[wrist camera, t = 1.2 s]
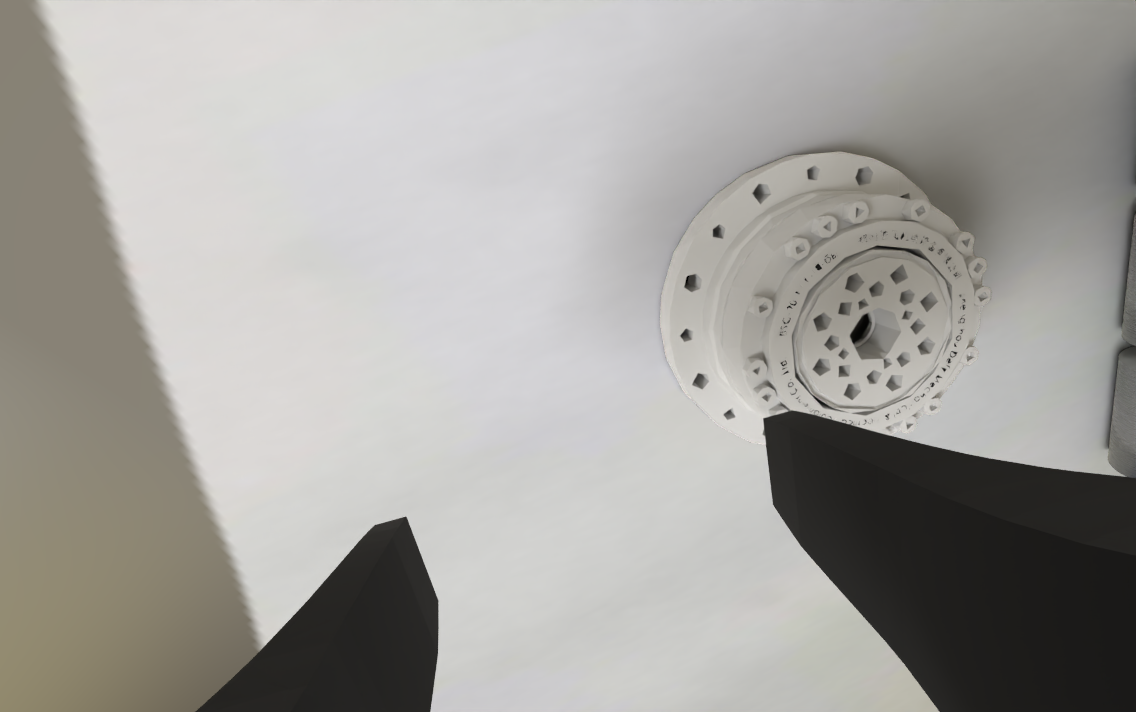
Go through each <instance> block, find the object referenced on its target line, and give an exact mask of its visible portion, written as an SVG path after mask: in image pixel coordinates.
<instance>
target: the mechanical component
mask: <svg viewBox="0 0 1136 712" xmlns="http://www.w3.org/2000/svg"><path fill="white" fill-rule="evenodd" d="M753 191H754V194H755V195H753V194H752V193H753ZM974 240H975V237H974V236H973V235H972V234H971V233H970V232H961V230H960V229H959V228H958V227H957V225H956V224H955V223H954V221H953V220H952V219H951V218H950V217H949V216H947V215H946V214H944V213H943V212H942V211H940V210H939V209H937V208H936V207H934V206H933V205H931V203H930V201H929V199H928V197H927V195H926V194H925V193H924V192H923V191H922V190H921V189H920V188H919V187H917V186H916V185H915V184H914V183H913V182H912V181H911V180H909V179H908V178H907V177H906V176H905V175H904V174H902V173H901V172H900V171H899V170H897V169H895V168H893V167H891V166H889V165H887V164H885V163H882V162H880V161H878V160H876V159H874V158H870V157H866V156H861V155H856V154H851V153H847V152H842V151H839V152H827V153H816V154H804V155H792V156H786V157H784V158H782V159H779V160H777V161H774V162H772V163H769V164H767V165H765V166H762V167H760V168H757V169H755V170H752V171H750V172H747V173H745V174H743V175H742V176H741V177H739V178H738V179H736V180H735V181H734V182H732V183H731V184H730V185H728V186H727V187H725V188H724V189H723V190H721V191H720V192H719V193H717V194H716V195H715V196H714V197H713V198H712V199H711V200H710V201H709V203H708V204H707V205H706V206H705V207H704V208H703V209H702V210H701V211H700V212H699V213H698V214H697V215H696V217H695V218H694V219H693V221H692V222H691V224H690V226H689V227H688V229H687V231H686V232H685V234H684V236H683V237H682V239H681V241H680V242H679V244H678V246H677V247H676V249H675V251H674V253H673V256H672V259H671V263H670V266H669V269H668V273H667V276H666V279H665V283H664V287H663V290H662V294H661V309H660V327H661V333H662V339H663V344H664V350H665V356H666V359H667V361H668V363H669V365H670V367H671V369H672V371H673V373H674V375H675V377H676V379H677V380H678V382H679V384H680V386H681V388H682V390H683V392H684V393H685V394H686V395H687V396H688V397H689V398H690V399H691V400H692V401H693V402H694V403H695V404H696V405H697V406H698V407H699V408H700V409H701V410H702V411H703V412H704V413H705V414H706V415H707V416H708V417H709V418H710V419H711V420H712V421H713V422H714V423H715V424H716V425H717V426H719V427H721V428H723V429H725V430H727V431H729V432H731V433H733V434H735V435H737V436H738V437H740V438H742V439H744V440H746V441H748V442H750V443H756V444H763V445H766V439H765V431H764V422H763V418H766V417H770V416H773V415H777V414H780V413H784V412H788V411H791V410H793V411H799V412H804V413H808V414H813V415H817V416H820V417H824V418H828V419H832V420H835V421H839V422H842V423H846V424H850V425H853V426H857V427H860V428H864V429H867V430H871V431H875V432H878V433H882V434H886V435H889V436H891V435H892V434H895V433H896V432H898V431H899V430H900V431H901V432H904V433H907V434H908V433H910V432H912V431H913V430H915V428H916V426H917V424H918V423H917V420H916V419H918V418H919V417H921V416H922V415H923V414H924V413H925V414H927V415H934V414H936V413H937V412H939V411H940V409H941V404H942V401H941V400H940V398H941V396H942V395H943V394H944V393H945V392H946V390H947V389H948V388H949V387H950V385H951V384H952V383H953V381H954V380H955V378H956V377H957V375H958V374H959V372H960V371H961V369H962V368H963V366H964V365H965V364H966V365H971V364H972V363H973V362H975V361H976V360H977V359H978V355H979V351H978V350H977V348H976V347H974V346H972V345H973V342H974V340H975V337H976V334H977V331H978V329H979V326H980V309H981V306H984V305H985V304H986V303H987V302H988V301H989V300H990V299H991V294H992V292H991V289H990V288H988V287H984V286H982V274H983V273H984V272H985V271H986V270H987V263H986V260H985V259H983V258H981V257H975V256H974V253H973V250H972V249H973V245H974ZM687 276H689V280H688V284H685V281H686V277H687Z"/></svg>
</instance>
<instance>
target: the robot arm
mask: <svg viewBox="0 0 1136 712" xmlns="http://www.w3.org/2000/svg"><path fill="white" fill-rule="evenodd" d="M763 422H764V431H765V439H766V448H767V456H768V465H769V473H770V482H771V490H772V499H773V505H774V507H775V508H776V510H777V511H778V513H779V514H780V516H781V517H782V519H783V520H784V522H785V523H786V525H787V527H788V528H789V529H790V531H791V532H792V534H793V535H794V537H795V538H796V539H797V541H798V542H799V544H800V545H801V547H802V548H803V549H804V550H805V551H806V552H807V554H808V555H809V556H810V557H811V558H812V559H813V560H814V562H815V563H816V564H817V565H818V566H819V567H820V568H821V570H822V571H823V572H824V573H825V574H826V575H827V576H828V577H829V579H830V580H831V581H832V582H833V583H834V584H835V585H836V586H837V588H838V589H839V590H840V591H841V592H842V593H843V594H844V595H845V596H846V598H847V599H848V600H849V601H850V602H851V603H852V604H853V605H854V607H855V608H856V609H857V610H858V611H859V612H860V613H861V614H862V615H863V617H864V618H865V619H866V620H867V621H868V622H869V623H870V624H871V626H872V627H873V628H874V629H875V630H876V631H877V632H878V633H879V635H880V636H881V637H882V638H883V639H884V640H885V641H886V642H887V644H888V645H889V646H890V647H891V649H892V650H893V651H894V652H895V653H896V655H897V656H898V657H899V658H900V659H901V661H902V662H903V663H904V664H905V666H906V667H907V668H908V670H909V671H910V672H911V674H912V675H913V676H914V678H915V679H916V680H917V682H918V683H919V684H920V686H921V687H922V688H923V690H924V691H925V692H926V694H927V695H928V697H929V698H930V699H931V701H932V702H933V703H934V705H935V706H936V707H937V709H938V710H939V711H940V712H1136V478H1131V477H1121V476H1112V475H1102V474H1093V473H1084V472H1074V471H1066V470H1059V469H1051V468H1044V467H1037V466H1031V465H1025V464H1019V463H1013V462H1007V461H1001V460H995V459H989V458H984V457H979V456H974V455H969V454H964V453H960V452H955V451H951V450H946V449H942V448H938V447H933V446H929V445H924V444H920V443H916V442H912V441H908V440H905V439H901V438H897V437H893V436H889V435H886V434H882V433H878V432H875V431H871V430H867V429H864V428H860V427H857V426H853V425H850V424H846V423H842V422H839V421H835V420H832V419H828V418H824V417H820V416H817V415H813V414H808V413H804V412H799V411H793V410H791V411H788V412H784V413H780V414H777V415H773V416H770V417H766V418H763ZM437 656H438V599H437V596H436V594H435V591H434V588H433V586H432V583H431V580H430V578H429V575H428V572H427V570H426V567H425V565H424V562H423V559H422V557H421V554H420V551H419V549H418V546H417V544H416V541H415V538H414V536H413V533H412V530H411V528H410V525H409V523H408V520H407V517H403V518H399V519H396V520H392V521H389V522H385V523H381V524H378V525H375V526H374V527H373V528H371V529H370V530H369V531H368V532H367V534H366V535H365V536H364V537H363V538H362V539H361V540H360V541H359V542H358V543H357V545H356V546H355V547H354V548H353V549H352V550H351V551H350V553H349V554H348V555H347V556H346V557H345V558H344V560H343V561H342V562H341V563H340V564H339V565H338V567H337V568H336V569H335V570H334V571H333V572H332V573H331V575H330V576H329V577H328V578H327V579H326V580H325V581H324V583H323V584H322V585H321V586H320V587H319V588H318V589H317V591H316V592H315V593H314V594H313V595H312V596H311V597H310V599H309V600H308V601H307V602H306V603H305V604H304V605H303V606H302V607H301V608H300V609H299V611H298V612H297V613H296V614H295V615H294V616H293V617H292V618H291V619H290V620H289V621H288V622H287V623H286V624H285V625H284V626H283V627H282V629H281V630H280V631H279V632H278V633H277V634H276V635H275V636H274V637H273V638H272V639H271V640H270V641H269V642H268V643H267V644H266V645H265V647H264V648H263V649H262V650H261V651H260V652H259V653H258V654H257V655H256V656H255V657H254V658H253V659H252V660H251V661H250V662H249V663H248V664H247V665H246V666H245V667H243V668H242V669H241V670H240V671H239V672H238V673H237V674H236V675H235V676H234V677H233V678H232V679H231V680H230V681H229V682H228V683H227V684H225V685H224V686H223V687H222V688H221V689H220V690H219V691H218V692H217V693H216V694H215V695H214V696H212V697H211V698H210V699H209V700H208V701H207V702H206V703H205V704H204V705H203V706H202V707H200V708H199V709H198V710H197V711H196V712H430V709H431V702H432V694H433V687H434V679H435V672H436V664H437Z"/></svg>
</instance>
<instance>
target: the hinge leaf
mask: <svg viewBox="0 0 1136 712" xmlns="http://www.w3.org/2000/svg"><path fill="white" fill-rule="evenodd" d="M1121 336H1122V338H1123V339H1124V340H1125V341H1126V342H1128V343H1130V344H1132V345H1134V346H1133V347H1130V348H1127V349H1125V350H1123V351H1122V352H1121V353H1120V354H1119V360H1118V369H1117V378H1116V387H1115V396H1114V405H1113V414H1112V423H1111V432H1110V441H1109V450H1108V461H1109V463H1110V465H1111V466H1112V467H1113V468H1114V469H1115V470H1117V471H1118V472H1120V473H1121V474H1123V475H1125V476H1127V477H1131V478H1136V214H1135V216H1134V225H1133V234H1132V243H1131V252H1130V261H1129V270H1128V279H1127V288H1126V297H1125V306H1124V315H1123V324H1122V333H1121Z"/></svg>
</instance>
